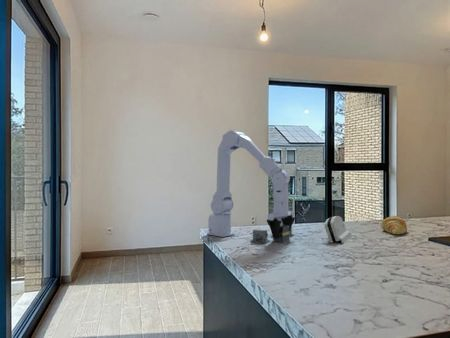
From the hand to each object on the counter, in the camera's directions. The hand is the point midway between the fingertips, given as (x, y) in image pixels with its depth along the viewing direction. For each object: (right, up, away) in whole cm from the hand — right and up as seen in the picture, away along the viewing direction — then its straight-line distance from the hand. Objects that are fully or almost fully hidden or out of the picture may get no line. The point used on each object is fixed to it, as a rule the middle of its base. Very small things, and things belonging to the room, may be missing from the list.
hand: (281, 236), depth 140 cm
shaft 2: (+1, -1, +10) cm, 10 cm away
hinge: (+23, -2, +2) cm, 23 cm away
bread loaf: (+51, -1, +16) cm, 54 cm away
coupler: (0, -2, 0) cm, 2 cm away
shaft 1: (-8, -2, 0) cm, 8 cm away
